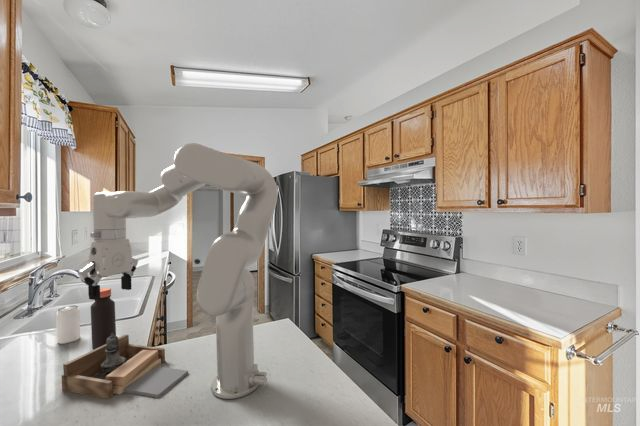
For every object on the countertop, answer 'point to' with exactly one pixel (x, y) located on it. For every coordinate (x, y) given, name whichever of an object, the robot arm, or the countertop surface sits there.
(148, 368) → the lower offcut
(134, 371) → the upper offcut
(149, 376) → the mat
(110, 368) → the grey stone finial
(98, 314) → the bottle
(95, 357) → the rack
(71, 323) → the can
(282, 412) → the countertop surface
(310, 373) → the countertop surface
